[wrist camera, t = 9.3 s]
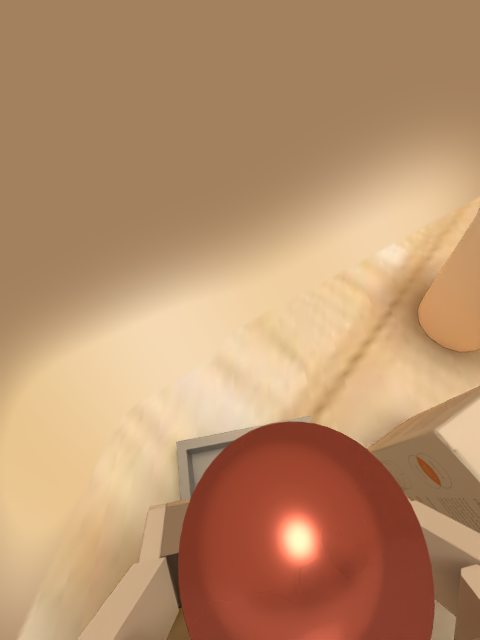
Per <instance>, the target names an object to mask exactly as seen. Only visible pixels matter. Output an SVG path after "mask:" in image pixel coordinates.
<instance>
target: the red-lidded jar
mask: <svg viewBox="0 0 480 640" xmlns="http://www.w3.org/2000/svg"><path fill="white" fill-rule="evenodd" d="M178 581H179V589H180V598H181V604H182V609H183V613H184V618H185V622H186V626H187V629H188V631H189V634H190V637H191V640H430V639H431V634H432V629H433V618H434V581H433V574H432V566H431V560H430V556H429V552H428V548H427V543H426V540H425V537H424V534H423V531H422V528H421V526H420V523H419V521H418V518H417V516H416V514H415V512H414V510H413V507H412V505H411V504H410V502H409V500H408V498H407V497H406V495H405V493H404V491H403V490H402V488H401V487H400V485H399V484H398V483H397V481H396V480H395V478H394V477H393V476H392V474H391V473H390V472H389V471H388V470H387V469H386V467H385V466H384V465H383V464H382V463H381V462H380V461H379V460H378V459H377V458H376V457H375V456H374V455H373V454H372V453H370V452H369V451H368V450H367V449H366V448H364V447H363V446H362V445H360V444H359V443H357V442H356V441H355V440H353V439H351V438H349V437H348V436H346V435H344V434H342V433H340V432H338V431H335V430H333V429H331V428H328V427H325V426H321V425H318V424H314V423H307V422H292V421H287V422H279V423H273V424H269V425H265V426H261V427H259V428H257V429H254V430H252V431H249V432H248V433H246V434H244V435H242V436H241V437H239V438H237V439H236V440H235V441H233V442H232V443H231V444H230V445H228V446H227V447H226V448H225V449H224V450H223V451H222V452H221V453H220V454H219V455H218V456H217V457H216V458H215V459H214V460H213V461H212V463H211V464H210V465H209V467H208V468H207V469H206V471H205V472H204V474H203V476H202V477H201V479H200V481H199V482H198V484H197V486H196V488H195V490H194V493H193V495H192V497H191V499H190V502H189V505H188V508H187V511H186V514H185V517H184V521H183V526H182V531H181V536H180V544H179V555H178Z"/></svg>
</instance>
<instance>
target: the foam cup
mask: <svg viewBox="0 0 480 640" xmlns="http://www.w3.org/2000/svg"><path fill="white" fill-rule="evenodd" d="M417 312H418V318H419V323H420V325H421V326H422V328H423V329H424V331H425V332H426V334H427V335H428V336H429V337H430V338H431V339H433V340H434V341H435V342H437V343H438V344H440V345H441V346H442V347H445V348H448V349H451V350H455V351H458V352H468V351H476V350H478V349H480V208H479V210H478V213H477V215H476V217H475V219H474V220H473V222H472V223H471V225H470V226H469V228H468V229H467V231H466V232H465V234H464V236H463V237H462V239H461V240H460V242H459V243H458V245H457V246H456V248H455V249H454V251H453V253H452V254H451V256H450V257H449V259H448V260H447V262H446V263H445V265H444V266H443V268H442V270H441V271H440V273H439V274H438V276H437V277H436V279H435V280H434V282H433V283H432V285H431V287H430V288H429V290H428V291H427V293H426V294H425V296H424V298H423V300H422V301H421V303H420V305H419V308H418V310H417Z"/></svg>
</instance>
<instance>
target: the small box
mask: <svg viewBox="0 0 480 640" xmlns="http://www.w3.org/2000/svg"><path fill="white" fill-rule="evenodd" d="M367 450H368V451H369V452H370V453H372V454H373V455H374V456H375V457H376V458H377V459H378V460H379V461H380V462H381V463H382V464H383V465H384V466H385V467H386V469H387V470H388V471H389V472H390V473H391V474H392V476H393V477H394V478H395V480H396V481H397V483H398V484H399V485H400V487H401V488H402V490H403V491H404V493H405V495H406V496H407V497H408V498H409V499H410V501H415V500H416V501H418V502H420V503H422V504H424V505H426V506H428V507H430V508H432V509H434V510H435V511H437V512H439V513H441V514H443V515H445V516H447V517H449V518H451V519H453V520H455V521H457V522H459V523H461V524H463V525H464V526H466V527H468V528H470V529H472V530H474V531H476V532H478V533H480V386H479V387H477V388H475V389H472V390H470V391H468V392H466V393H464V394H461V395H459V396H457V397H454V398H452V399H450V400H448V401H446V402H444V403H442V404H440V405H437V406H435V407H433V408H431V409H428V410H426V411H424V412H422V413H420V414H418V415H416V416H414V417H411V418H410V419H408V420H407V421H406V422H404V423H403V424H401V425H400V426H399V427H397V428H396V429H394V430H393V431H392V432H390V433H389V434H388V435H386V436H385V437H384V438H382V439H381V440H379V441H378V442H377V443H375V444H374V445H373V446H371V447H370V448H369V449H367Z"/></svg>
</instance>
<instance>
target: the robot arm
mask: <svg viewBox="0 0 480 640" xmlns="http://www.w3.org/2000/svg"><path fill="white" fill-rule="evenodd" d="M406 497H407V496H406ZM407 498H408V497H407ZM408 500H409V502H410V504H411V505H412V507H413V510H414V512H415V514H416V516H417V518H418V521H419V523H420V526H421V528H422V531H423V534H424V537H425V540H426V543H427V548H428V552H429V556H430V560H431V566H432V574H433V581H434V599H436V600H437V601H438V602H439V603H440V604H442V605H443V606H444V607H445V608H446V609H448V610H449V611H450V612H451V613H452V614H454V615H455V616H456V624H455V634H454V640H480V533H478V532H476V531H474V530H472V529H470V528H468V527H466V526H464V525H463V524H461V523H459V522H457V521H455V520H453V519H451V518H449V517H447V516H445V515H443V514H441V513H439V512H437V511H435V510H434V509H432V508H430V507H428V506H426V505H424V504H422V503H420V502H418V501H416V500H415V501H410V499H409V498H408ZM189 502H190V499H188V500H183V501H177V502H172V503H167V504H163V505H158V506H152V507H150V508H149V510H148V513H147V518H146V524H145V529H144V535H143V540H142V545H141V551H140V556H139V562H138V563H136V564H133V565H132V566H131V567H130V569H129V570H128V571H127V573H126V574H125V575H124V577H123V578H122V580H121V581H120V582H119V584H118V585H117V586H116V588H115V589H114V590H113V592H112V593H111V594H110V596H109V597H108V598H107V600H106V601H105V602H104V604H103V605H102V607H101V608H100V609H99V611H98V612H97V613H96V615H95V616H94V617H93V619H92V620H91V621H90V623H89V624H88V625H87V627H86V628H85V629H84V631H83V632H82V634H81V635H80V636H79V638H78V639H77V640H166V639H167V637H168V634H169V632H170V630H171V628H172V626H173V623H174V621H175V619H176V617H177V615H178V612H179V608H182V604H181V598H180V589H179V581H178V555H179V544H180V536H181V531H182V526H183V521H184V517H185V514H186V511H187V508H188V505H189Z"/></svg>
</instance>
